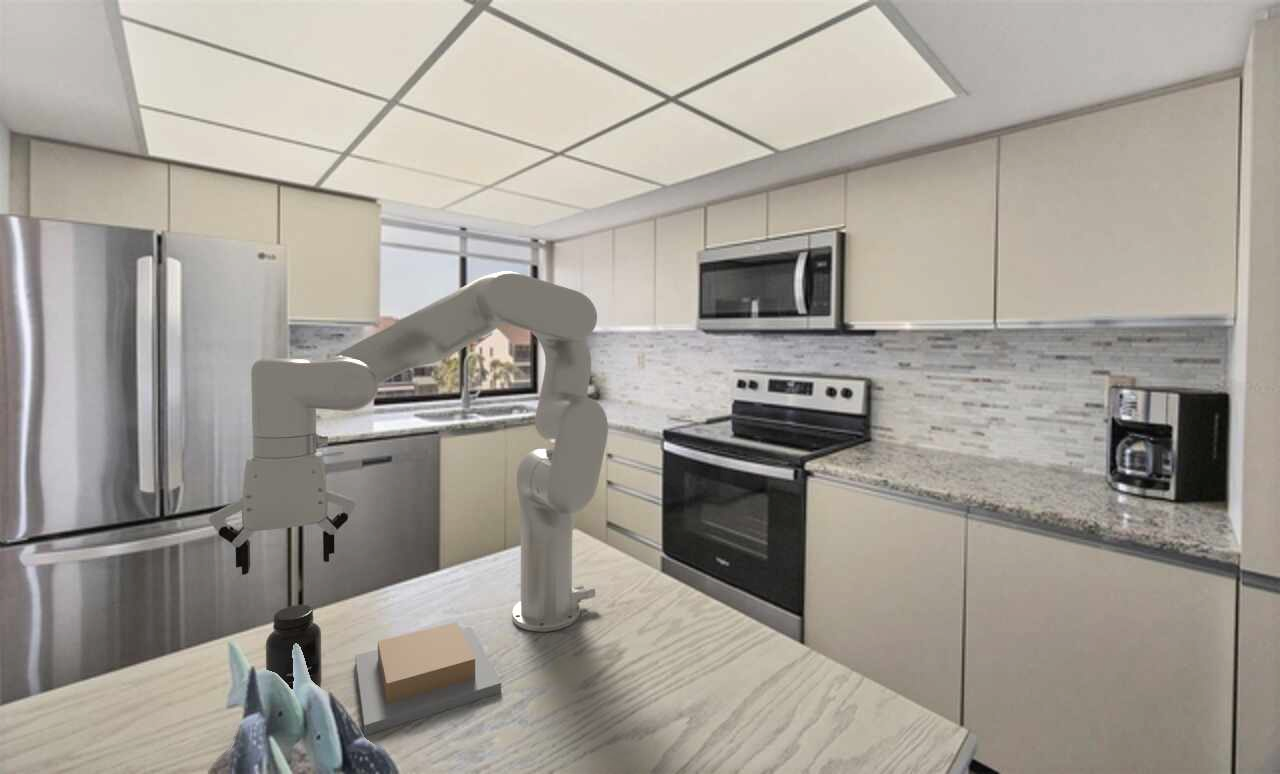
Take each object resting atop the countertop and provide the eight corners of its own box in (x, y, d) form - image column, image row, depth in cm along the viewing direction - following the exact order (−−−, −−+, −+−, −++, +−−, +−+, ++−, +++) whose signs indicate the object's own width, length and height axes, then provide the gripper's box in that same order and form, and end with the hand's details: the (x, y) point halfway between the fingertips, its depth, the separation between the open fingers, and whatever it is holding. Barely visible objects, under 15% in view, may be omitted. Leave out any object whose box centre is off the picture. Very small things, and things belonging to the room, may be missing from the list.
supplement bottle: (296, 709, 76) (293, 627, 75) (255, 702, 77) (251, 621, 76) (333, 679, 82) (330, 603, 81) (294, 673, 84) (291, 598, 83)
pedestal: (470, 634, 96) (470, 609, 95) (501, 692, 80) (501, 663, 80) (355, 664, 86) (354, 636, 86) (364, 736, 71) (364, 703, 71)
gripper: (353, 438, 84) (354, 546, 85) (212, 445, 75) (215, 566, 77) (356, 447, 78) (357, 563, 79) (202, 456, 69) (206, 587, 70)
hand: (287, 564), depth 78 cm, fingers open, 9 cm apart
